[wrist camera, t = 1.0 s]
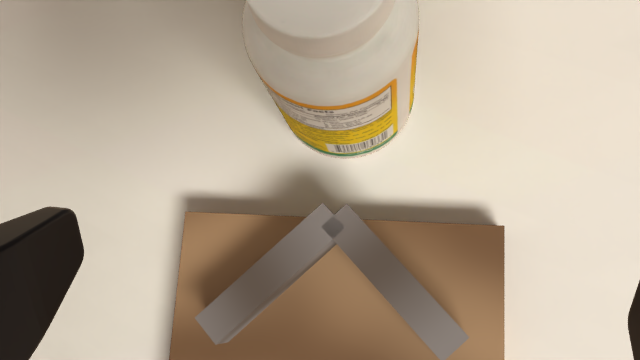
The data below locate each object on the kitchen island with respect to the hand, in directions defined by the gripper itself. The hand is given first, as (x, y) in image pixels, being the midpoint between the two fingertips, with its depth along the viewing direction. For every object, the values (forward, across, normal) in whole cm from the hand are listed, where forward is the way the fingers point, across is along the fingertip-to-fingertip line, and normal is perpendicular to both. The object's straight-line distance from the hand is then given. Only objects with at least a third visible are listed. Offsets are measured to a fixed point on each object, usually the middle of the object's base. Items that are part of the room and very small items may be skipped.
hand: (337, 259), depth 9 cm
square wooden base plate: (+8, +1, +12) cm, 14 cm away
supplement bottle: (+15, +2, +3) cm, 16 cm away
